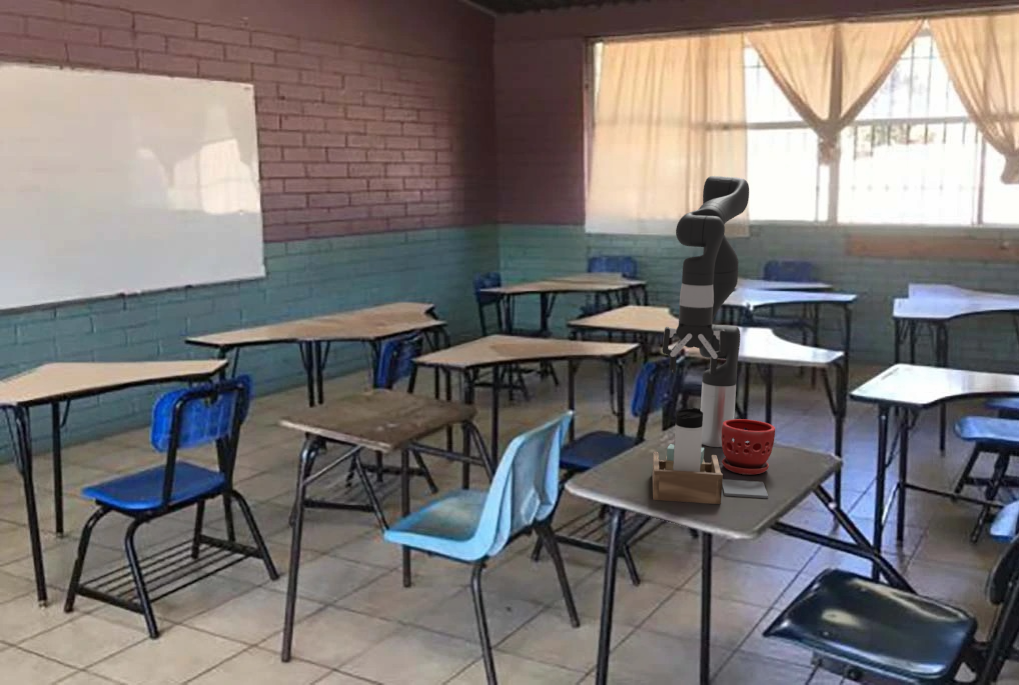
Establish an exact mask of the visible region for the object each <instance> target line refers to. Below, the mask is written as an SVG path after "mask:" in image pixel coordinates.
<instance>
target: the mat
mask: <svg viewBox="0 0 1019 685" xmlns="http://www.w3.org/2000/svg"><path fill="white" fill-rule="evenodd" d="M722 492H723V495H724V496H727V497H740V498H741V497H742V498H757V499H769V495H768V491H767V488H766V486H765V484H764V481H756V480H755V481H754V480H742V479H741V480H739V479H724V478H723V479H722Z"/></svg>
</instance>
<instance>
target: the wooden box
mask: <svg viewBox="0 0 1019 685" xmlns="http://www.w3.org/2000/svg"><path fill="white" fill-rule="evenodd" d="M652 456H653V458H652V476H651V477H652V499H653V501H665V502H666V501H667V502H682V503H696V504H699V503H700V504H710V505H711V504H715V505H721V504H722V494H723V487H722V479H724V478H723V477H724V476H723V475H724V474H723V473H722V472H721V471H722V470H721V468H720V465H719V464H720V463H719V460H718V455H716V454H712V455H711V458H710V459H711V461H710V462H705V471H706V472H692V471H676V470H664V468H665V463H666V459H659V452H658V451H653V455H652Z"/></svg>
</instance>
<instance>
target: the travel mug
mask: <svg viewBox="0 0 1019 685" xmlns="http://www.w3.org/2000/svg"><path fill="white" fill-rule="evenodd" d="M675 420H676V421H675V428H674V443H673V444H674V461H673V470H676V471H692V472H700V462H701V448H702V445H703V444H702V427H703V423H702V422H703V412H702V411H701V408H696V407H692V408H685V409H684V408H683V409H679V410H677V412H676V415H675Z"/></svg>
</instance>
